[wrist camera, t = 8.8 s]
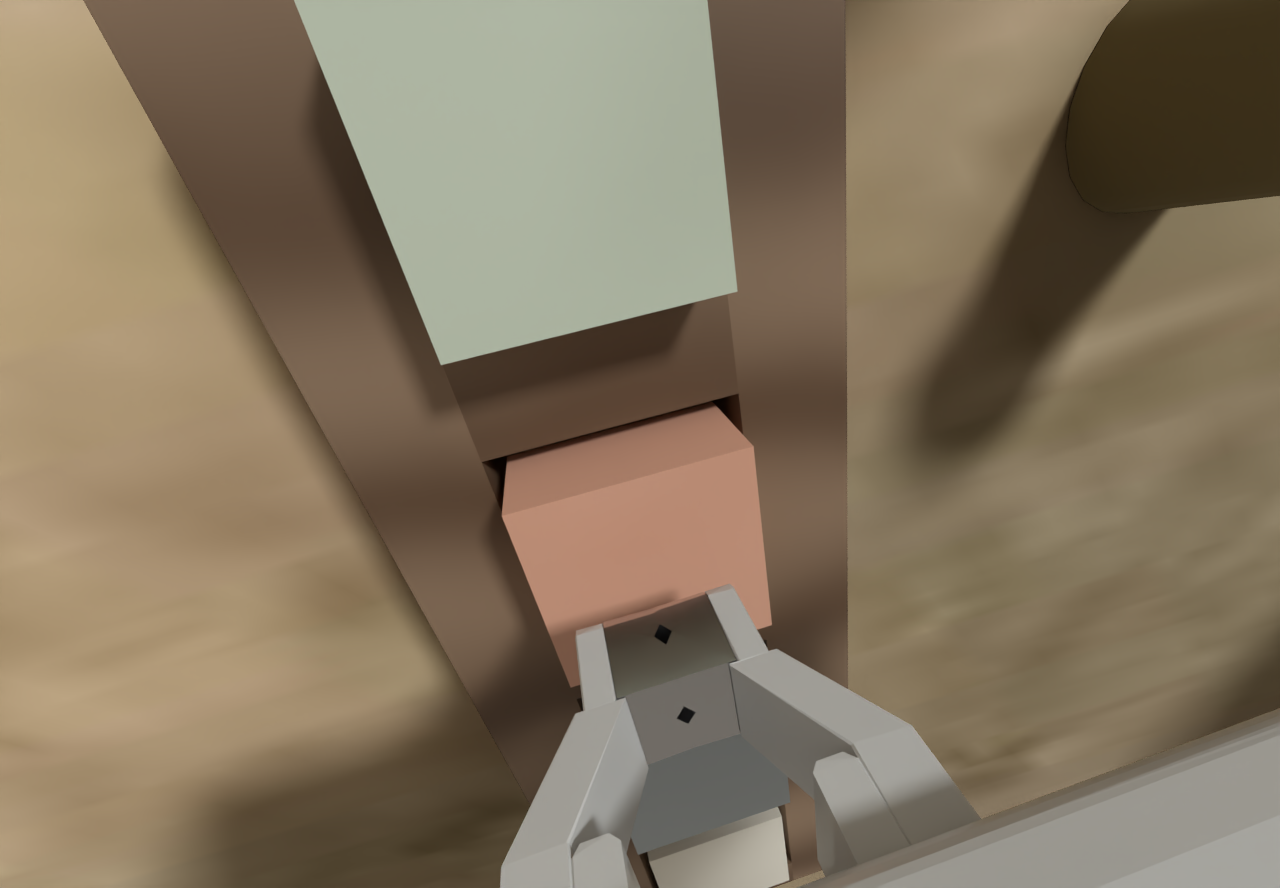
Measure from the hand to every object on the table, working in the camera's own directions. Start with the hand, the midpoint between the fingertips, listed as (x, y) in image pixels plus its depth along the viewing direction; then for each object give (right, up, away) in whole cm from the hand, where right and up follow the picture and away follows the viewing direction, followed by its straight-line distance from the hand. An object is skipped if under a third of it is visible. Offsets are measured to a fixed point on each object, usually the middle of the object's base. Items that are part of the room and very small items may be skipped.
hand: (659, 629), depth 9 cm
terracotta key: (-1, +2, +3) cm, 4 cm away
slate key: (+1, -5, +7) cm, 9 cm away
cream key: (+2, -12, +12) cm, 17 cm away
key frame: (0, 0, +8) cm, 8 cm away
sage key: (-2, +9, 0) cm, 9 cm away
